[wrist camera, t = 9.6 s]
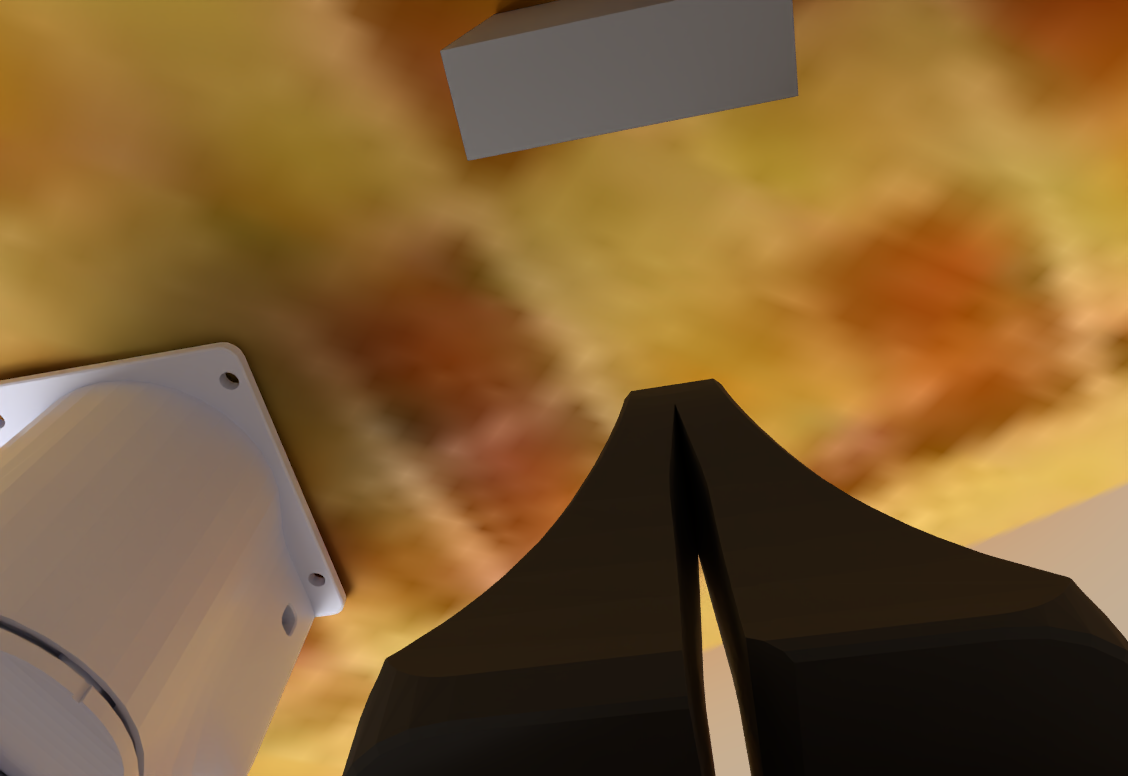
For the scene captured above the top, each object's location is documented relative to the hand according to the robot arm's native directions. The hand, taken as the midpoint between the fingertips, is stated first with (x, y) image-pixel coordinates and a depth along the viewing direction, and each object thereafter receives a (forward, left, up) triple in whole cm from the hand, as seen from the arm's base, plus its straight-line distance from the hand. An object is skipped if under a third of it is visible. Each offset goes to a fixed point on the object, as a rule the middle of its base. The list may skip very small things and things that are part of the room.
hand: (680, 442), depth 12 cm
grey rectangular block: (+5, 0, -9) cm, 11 cm away
